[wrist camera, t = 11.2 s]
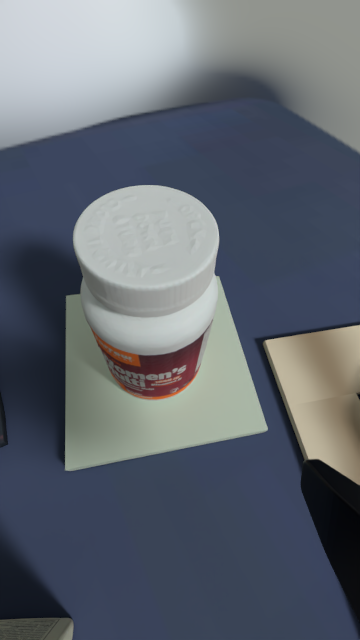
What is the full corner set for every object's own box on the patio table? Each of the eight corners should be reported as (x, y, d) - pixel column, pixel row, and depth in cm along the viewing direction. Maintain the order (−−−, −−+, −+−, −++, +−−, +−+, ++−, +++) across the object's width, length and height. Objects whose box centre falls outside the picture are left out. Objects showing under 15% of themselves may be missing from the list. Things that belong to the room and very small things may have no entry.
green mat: (70, 471, 17) (65, 470, 16) (69, 303, 23) (66, 295, 22) (263, 432, 19) (267, 429, 18) (216, 283, 25) (218, 276, 24)
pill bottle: (102, 400, 18) (29, 297, 9) (117, 316, 21) (76, 170, 12) (200, 405, 18) (239, 309, 9) (201, 321, 22) (230, 180, 12)
